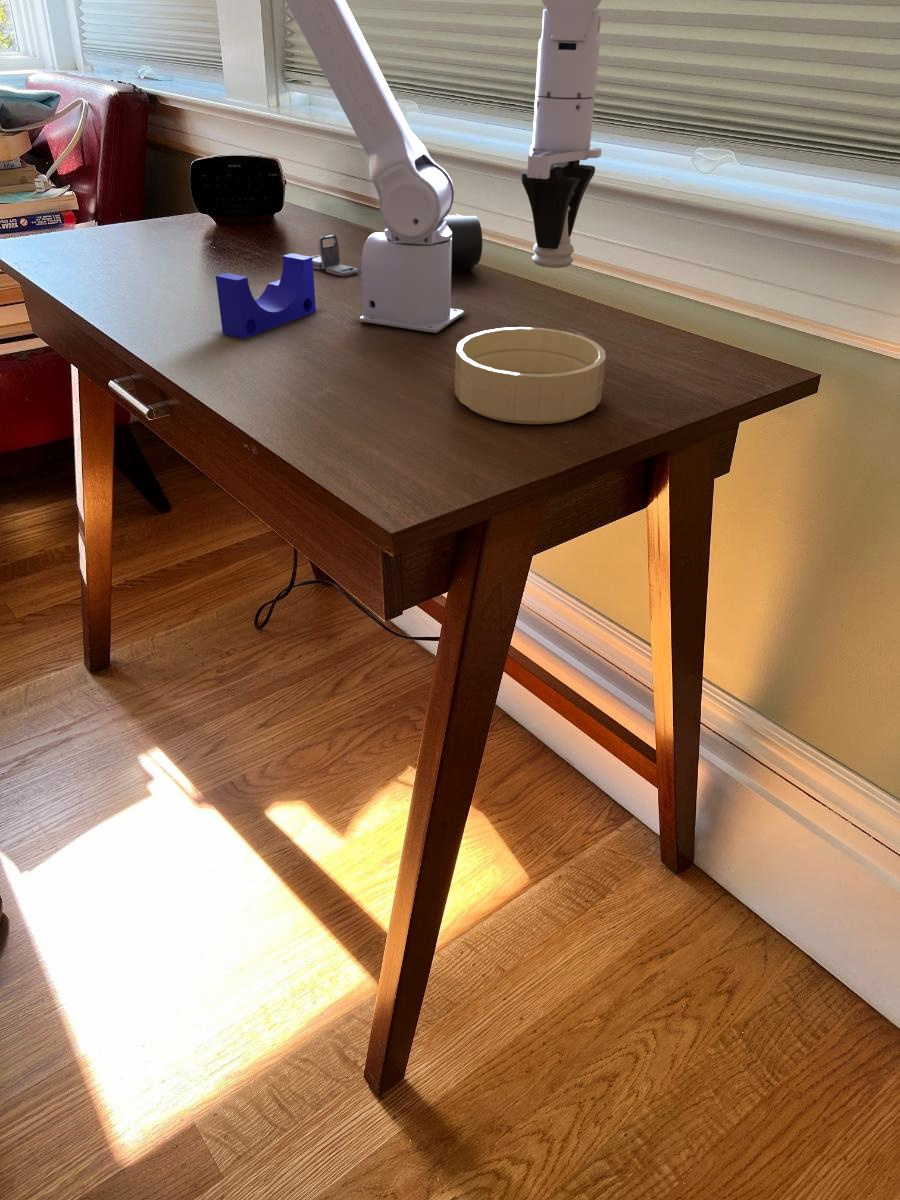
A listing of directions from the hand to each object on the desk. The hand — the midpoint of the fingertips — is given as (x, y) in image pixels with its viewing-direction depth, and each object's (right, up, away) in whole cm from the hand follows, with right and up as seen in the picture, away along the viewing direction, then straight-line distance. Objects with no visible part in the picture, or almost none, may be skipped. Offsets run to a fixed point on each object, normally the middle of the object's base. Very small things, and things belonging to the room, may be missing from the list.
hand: (553, 243), depth 95 cm
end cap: (-12, +6, +25) cm, 29 cm away
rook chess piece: (0, -2, +1) cm, 2 cm away
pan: (-4, -19, -12) cm, 23 cm away
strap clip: (-27, +6, +25) cm, 37 cm away
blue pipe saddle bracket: (-31, -7, +6) cm, 33 cm away
